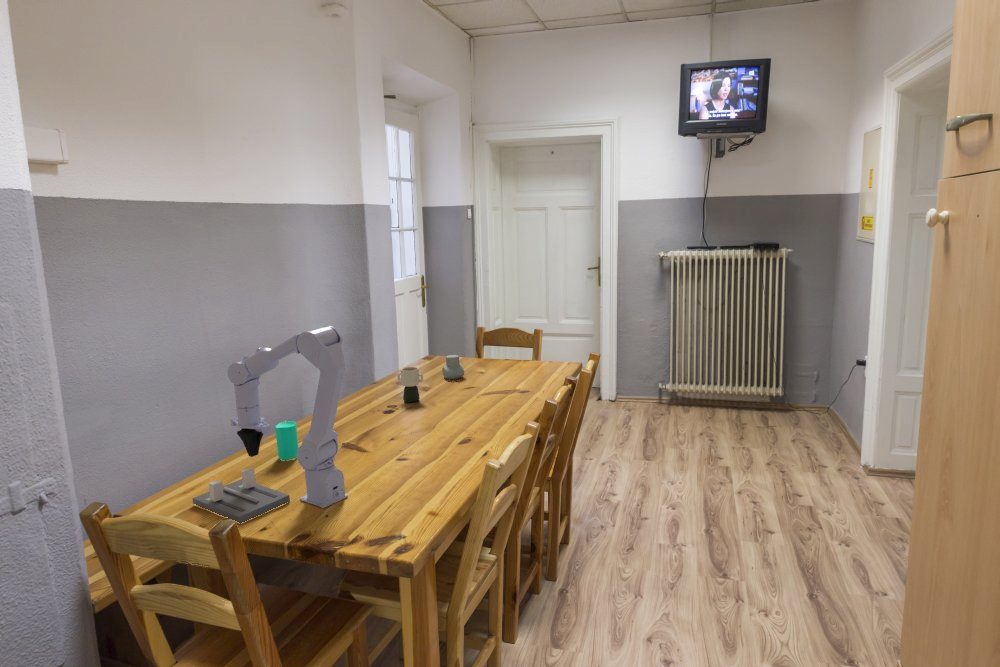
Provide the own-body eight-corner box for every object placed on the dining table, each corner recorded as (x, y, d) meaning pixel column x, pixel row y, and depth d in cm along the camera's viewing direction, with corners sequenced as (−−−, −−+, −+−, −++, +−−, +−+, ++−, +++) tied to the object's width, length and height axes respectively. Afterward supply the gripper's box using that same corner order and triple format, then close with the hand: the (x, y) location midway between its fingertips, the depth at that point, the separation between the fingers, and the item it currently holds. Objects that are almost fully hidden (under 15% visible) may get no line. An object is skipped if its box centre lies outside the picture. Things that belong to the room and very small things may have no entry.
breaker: (255, 485, 166) (254, 469, 165) (247, 488, 164) (245, 472, 163) (251, 483, 167) (249, 467, 166) (243, 487, 165) (241, 471, 164)
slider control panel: (290, 502, 160) (288, 491, 160) (240, 524, 149) (238, 512, 149) (243, 485, 172) (242, 475, 171) (193, 505, 161) (192, 494, 160)
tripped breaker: (224, 498, 159) (222, 481, 158) (215, 501, 157) (213, 484, 156) (219, 496, 160) (217, 479, 159) (210, 499, 158) (208, 483, 157)
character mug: (428, 399, 250) (426, 367, 248) (420, 404, 243) (418, 371, 241) (403, 397, 254) (401, 366, 251) (394, 402, 247) (392, 370, 245)
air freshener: (441, 376, 287) (440, 354, 286) (459, 374, 290) (458, 352, 288) (447, 381, 277) (446, 359, 275) (465, 379, 279) (464, 357, 278)
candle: (291, 452, 196) (288, 415, 194) (303, 456, 192) (299, 418, 190) (274, 458, 191) (270, 420, 189) (285, 462, 188) (281, 423, 186)
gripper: (278, 405, 165) (283, 455, 167) (245, 398, 173) (250, 445, 175) (254, 412, 159) (260, 464, 161) (221, 404, 167) (226, 453, 169)
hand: (253, 455), depth 168 cm, fingers closed
